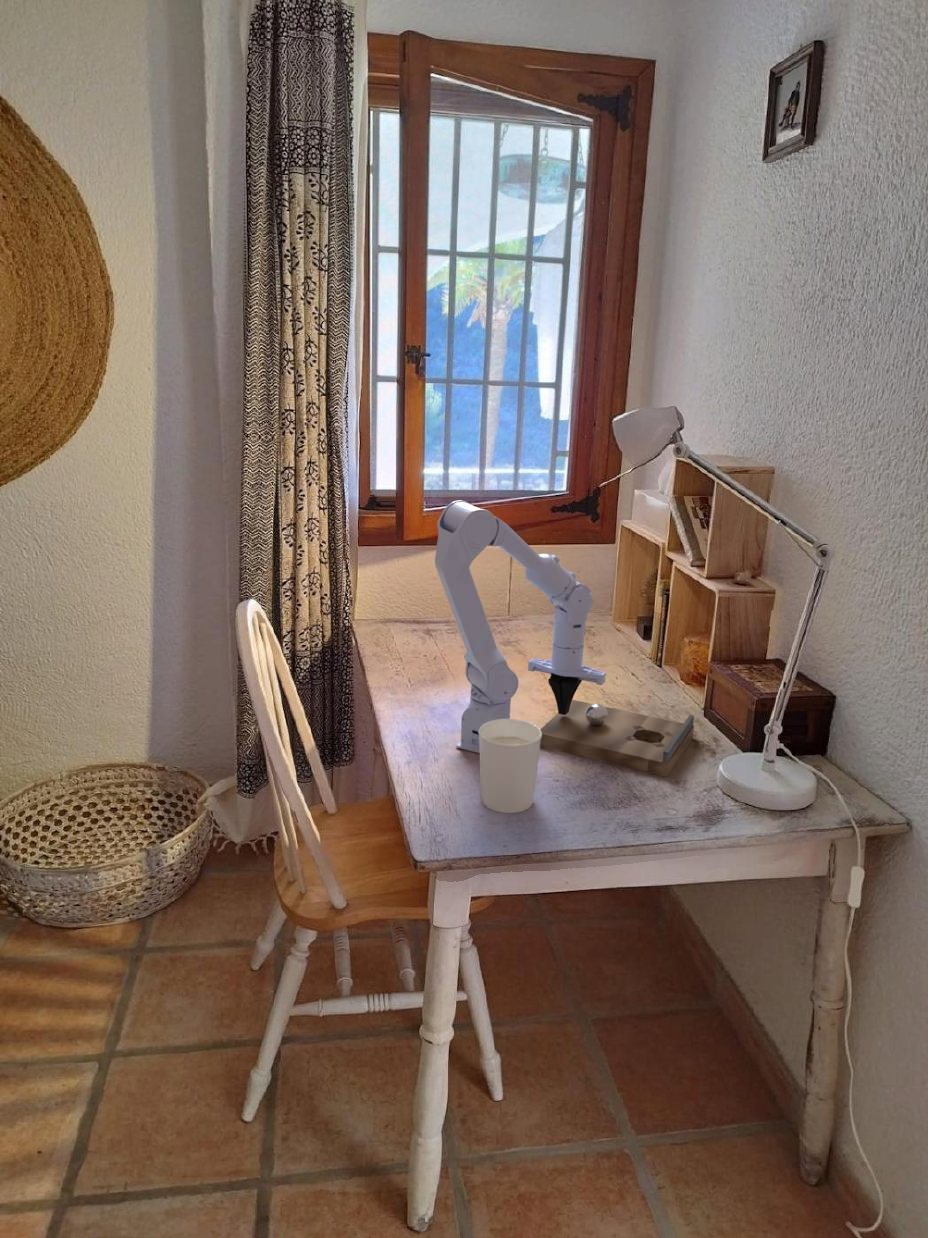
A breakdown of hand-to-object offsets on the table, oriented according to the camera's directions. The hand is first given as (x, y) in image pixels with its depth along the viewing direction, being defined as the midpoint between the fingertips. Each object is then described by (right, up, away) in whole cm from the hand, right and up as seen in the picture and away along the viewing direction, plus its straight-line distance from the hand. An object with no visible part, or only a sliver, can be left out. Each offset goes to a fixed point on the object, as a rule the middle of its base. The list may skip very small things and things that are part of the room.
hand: (563, 712), depth 167 cm
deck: (+10, -5, -4) cm, 12 cm away
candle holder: (-12, -11, -25) cm, 30 cm away
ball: (+6, 0, -3) cm, 6 cm away
